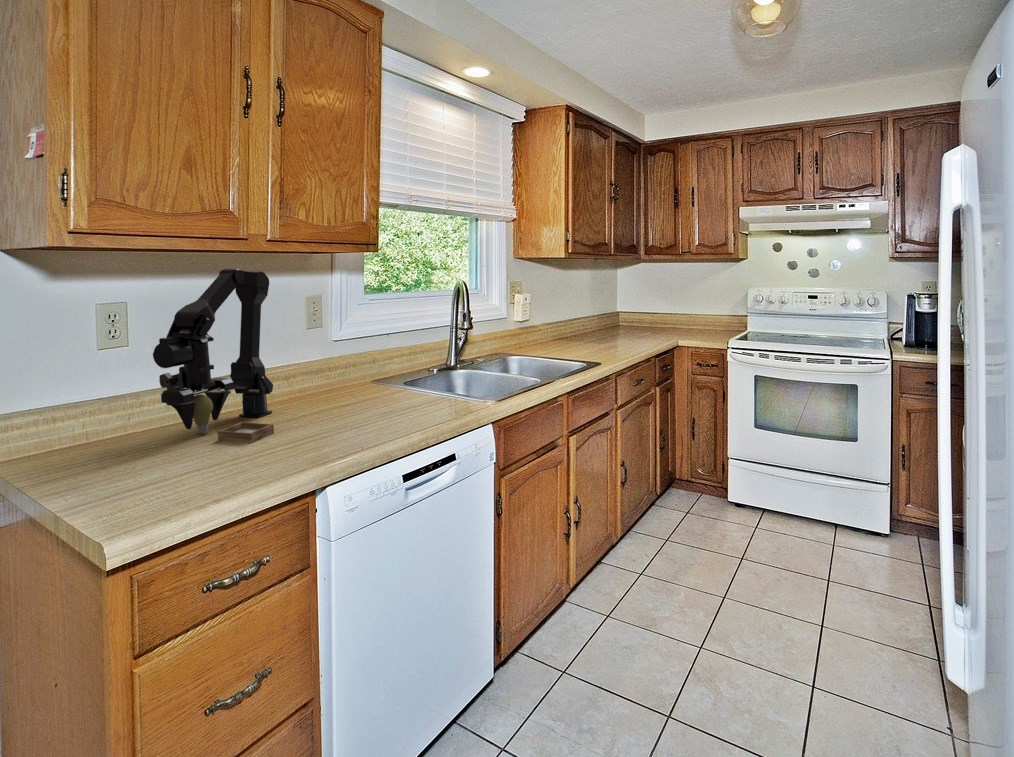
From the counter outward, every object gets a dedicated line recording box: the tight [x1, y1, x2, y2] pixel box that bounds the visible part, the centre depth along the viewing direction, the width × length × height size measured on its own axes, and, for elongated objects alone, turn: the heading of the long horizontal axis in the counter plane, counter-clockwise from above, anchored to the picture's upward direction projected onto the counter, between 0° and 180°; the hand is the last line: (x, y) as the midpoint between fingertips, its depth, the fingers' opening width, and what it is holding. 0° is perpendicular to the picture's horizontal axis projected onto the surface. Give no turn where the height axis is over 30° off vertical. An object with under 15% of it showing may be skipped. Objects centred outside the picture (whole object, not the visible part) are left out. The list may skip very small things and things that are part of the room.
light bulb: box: [191, 394, 213, 436], centre depth 156 cm, size 6×6×10 cm
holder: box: [217, 421, 275, 444], centre depth 154 cm, size 9×9×2 cm
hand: (202, 424), depth 156 cm, fingers open, 9 cm apart
